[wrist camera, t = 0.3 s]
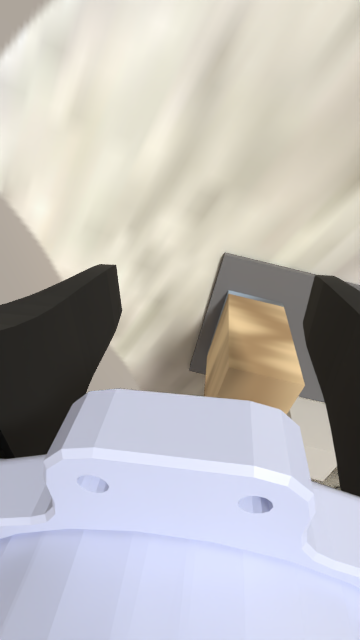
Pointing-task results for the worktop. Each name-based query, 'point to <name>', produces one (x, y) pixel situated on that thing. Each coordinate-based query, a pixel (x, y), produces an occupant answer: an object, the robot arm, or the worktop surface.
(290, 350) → the oak block
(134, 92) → the worktop surface
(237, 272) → the grey flat rectangular piece
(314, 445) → the grey block
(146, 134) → the worktop surface
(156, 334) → the worktop surface
